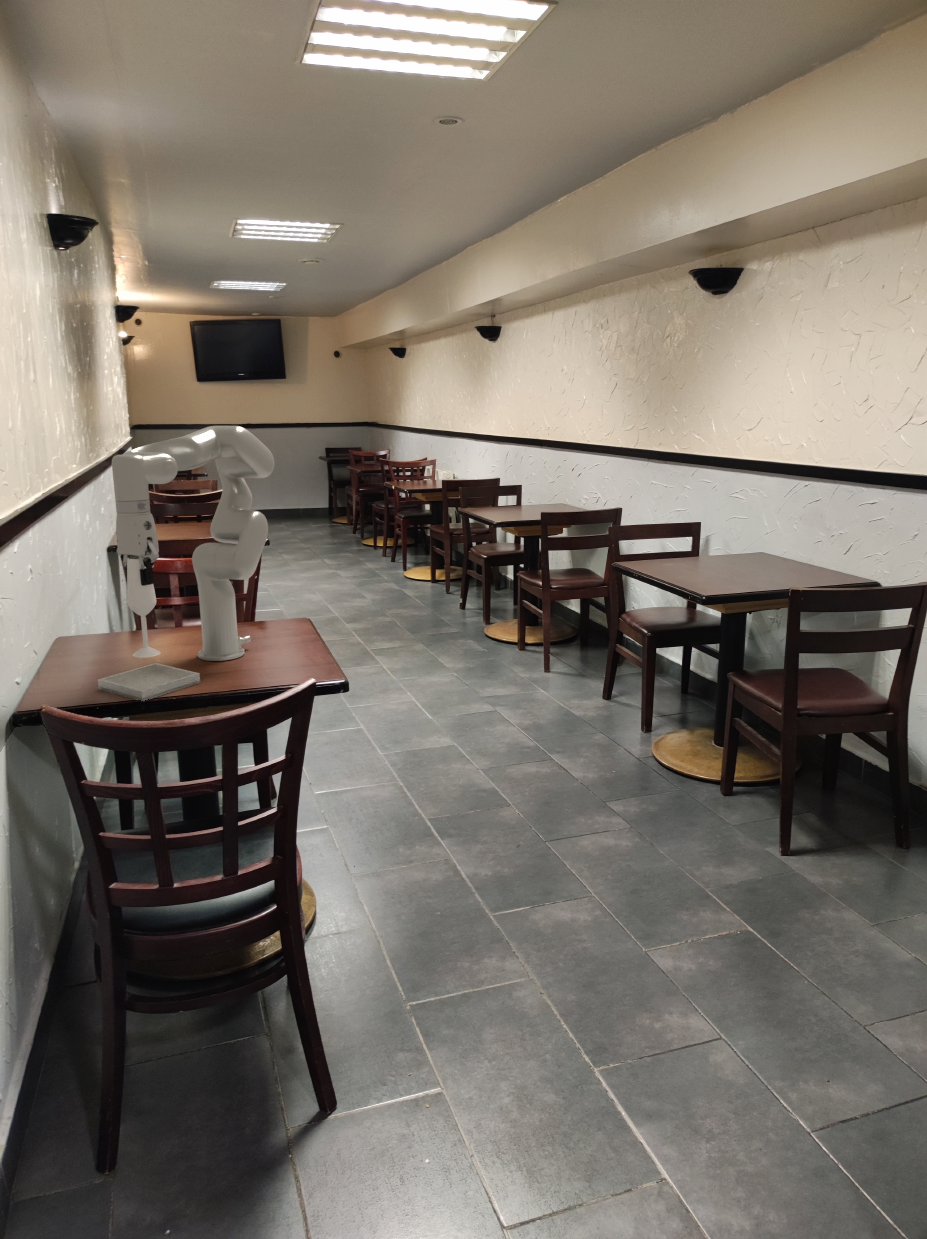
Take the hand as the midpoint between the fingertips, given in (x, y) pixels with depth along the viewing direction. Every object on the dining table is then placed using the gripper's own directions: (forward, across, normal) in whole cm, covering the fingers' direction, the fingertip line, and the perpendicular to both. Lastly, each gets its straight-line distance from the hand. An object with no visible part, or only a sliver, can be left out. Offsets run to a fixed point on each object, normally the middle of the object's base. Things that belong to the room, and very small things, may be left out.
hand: (140, 582), depth 205 cm
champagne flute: (+18, 0, 0) cm, 18 cm away
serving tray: (+26, 0, 0) cm, 26 cm away
